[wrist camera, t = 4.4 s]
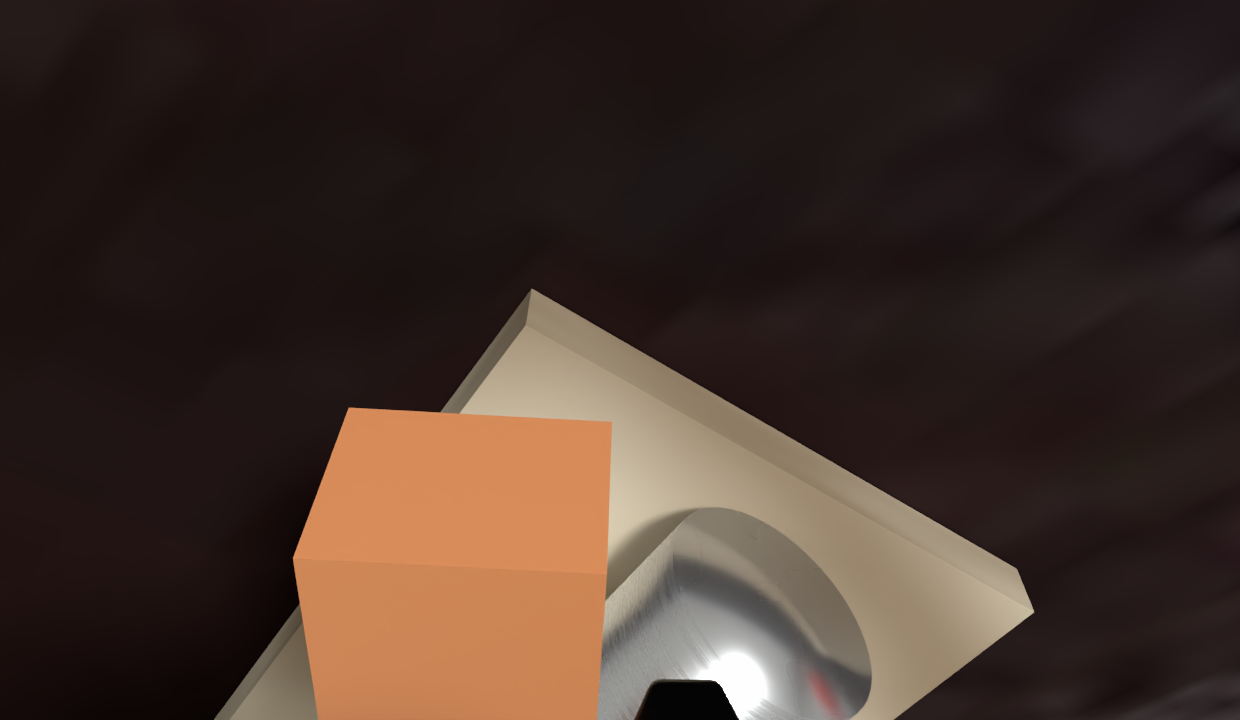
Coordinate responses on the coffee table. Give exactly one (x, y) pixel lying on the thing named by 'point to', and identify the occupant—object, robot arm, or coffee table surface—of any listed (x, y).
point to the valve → (734, 625)
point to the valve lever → (457, 568)
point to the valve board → (716, 477)
